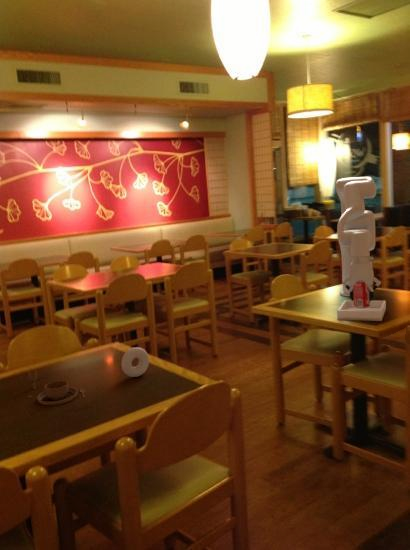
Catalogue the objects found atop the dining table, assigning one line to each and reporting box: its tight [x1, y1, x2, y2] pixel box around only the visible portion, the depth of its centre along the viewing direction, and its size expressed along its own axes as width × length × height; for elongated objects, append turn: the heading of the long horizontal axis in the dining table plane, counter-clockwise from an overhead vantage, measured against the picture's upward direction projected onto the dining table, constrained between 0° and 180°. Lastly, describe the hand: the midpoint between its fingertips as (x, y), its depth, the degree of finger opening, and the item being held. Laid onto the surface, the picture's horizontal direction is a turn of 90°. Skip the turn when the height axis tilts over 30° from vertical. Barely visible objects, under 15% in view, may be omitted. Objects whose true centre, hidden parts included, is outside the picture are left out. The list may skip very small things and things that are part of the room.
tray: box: [336, 299, 387, 322], centre depth 233 cm, size 20×18×4 cm
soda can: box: [353, 281, 370, 309], centre depth 232 cm, size 7×7×12 cm
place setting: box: [28, 370, 86, 406], centre depth 167 cm, size 18×20×6 cm
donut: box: [121, 346, 150, 378], centre depth 176 cm, size 10×4×10 cm, turn 127°
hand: (361, 299), depth 232 cm, fingers closed on soda can, 7 cm apart
